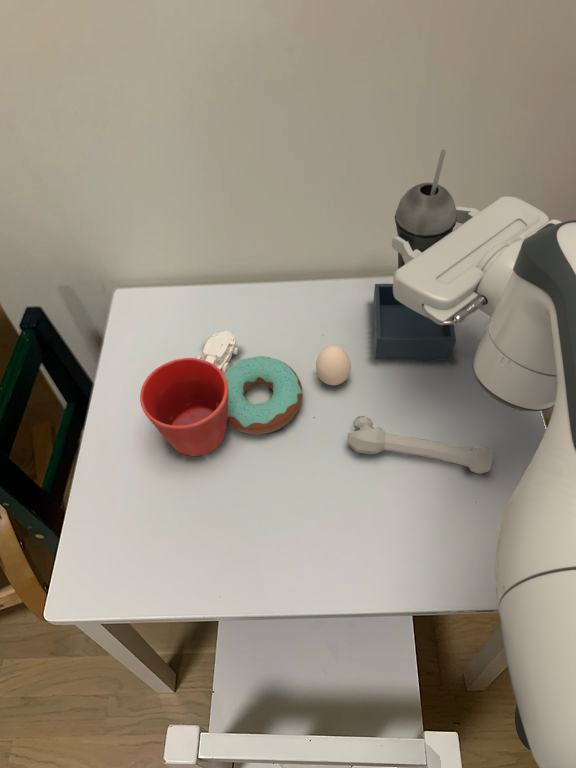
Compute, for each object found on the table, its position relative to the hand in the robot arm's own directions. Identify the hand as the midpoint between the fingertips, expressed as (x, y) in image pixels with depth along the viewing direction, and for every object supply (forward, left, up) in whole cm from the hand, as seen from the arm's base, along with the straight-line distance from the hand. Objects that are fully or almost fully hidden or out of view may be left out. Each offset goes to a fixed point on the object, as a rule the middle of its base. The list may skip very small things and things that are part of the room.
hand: (419, 223), depth 72 cm
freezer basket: (-1, 0, -20) cm, 20 cm away
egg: (+7, +12, -20) cm, 24 cm away
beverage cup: (-1, 0, -10) cm, 10 cm away
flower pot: (+22, +26, -20) cm, 39 cm away
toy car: (+24, +14, -20) cm, 34 cm away
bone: (-7, +20, -20) cm, 29 cm away
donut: (+15, +19, -20) cm, 32 cm away
